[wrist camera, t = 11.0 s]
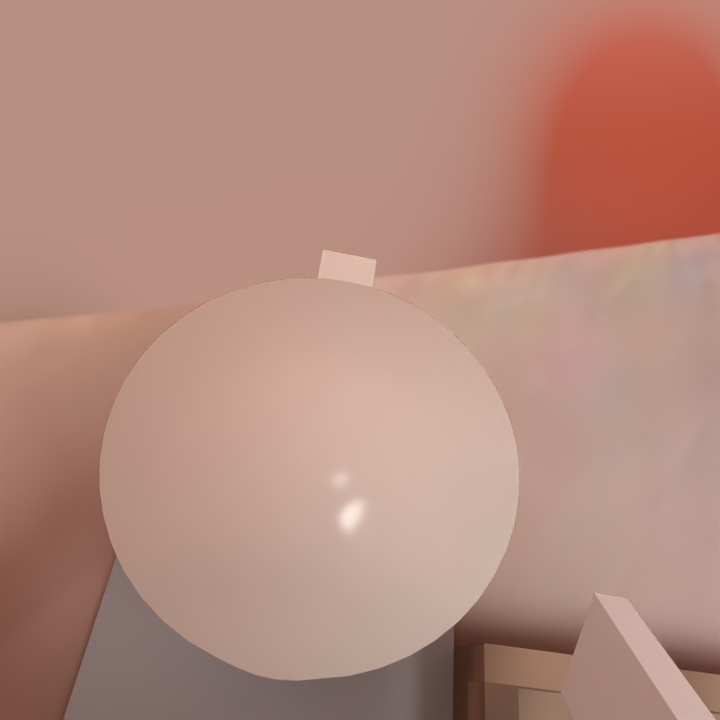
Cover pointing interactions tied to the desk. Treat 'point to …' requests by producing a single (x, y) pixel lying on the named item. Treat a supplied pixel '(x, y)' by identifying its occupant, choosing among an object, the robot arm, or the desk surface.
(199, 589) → the white rounded piece
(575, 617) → the desk surface
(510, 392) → the desk surface
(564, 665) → the holder
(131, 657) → the mat
